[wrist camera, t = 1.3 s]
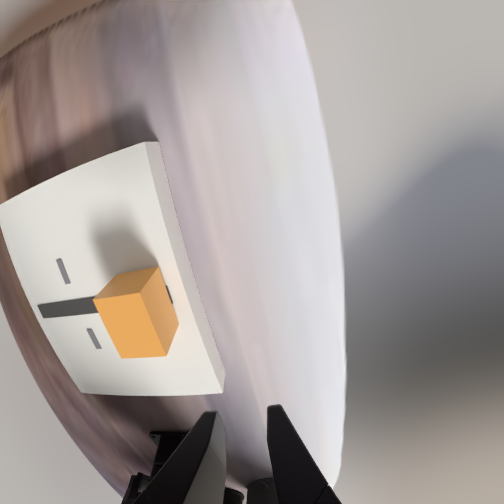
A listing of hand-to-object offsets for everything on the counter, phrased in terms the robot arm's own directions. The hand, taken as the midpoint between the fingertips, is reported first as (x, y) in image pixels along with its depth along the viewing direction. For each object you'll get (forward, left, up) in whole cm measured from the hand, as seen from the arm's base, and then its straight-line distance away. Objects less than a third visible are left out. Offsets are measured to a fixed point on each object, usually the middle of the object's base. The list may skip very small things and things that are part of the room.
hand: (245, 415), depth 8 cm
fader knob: (0, +6, -9) cm, 11 cm away
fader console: (0, +11, -12) cm, 16 cm away
